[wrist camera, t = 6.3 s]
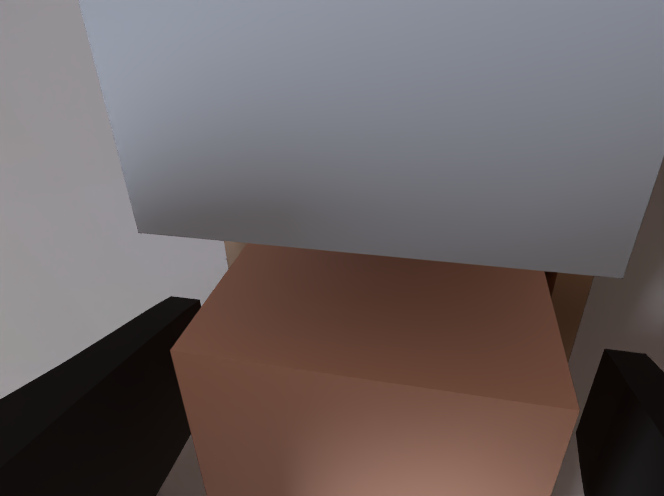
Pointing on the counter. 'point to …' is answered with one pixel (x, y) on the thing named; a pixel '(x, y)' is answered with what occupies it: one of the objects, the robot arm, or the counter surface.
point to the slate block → (390, 124)
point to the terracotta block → (375, 378)
